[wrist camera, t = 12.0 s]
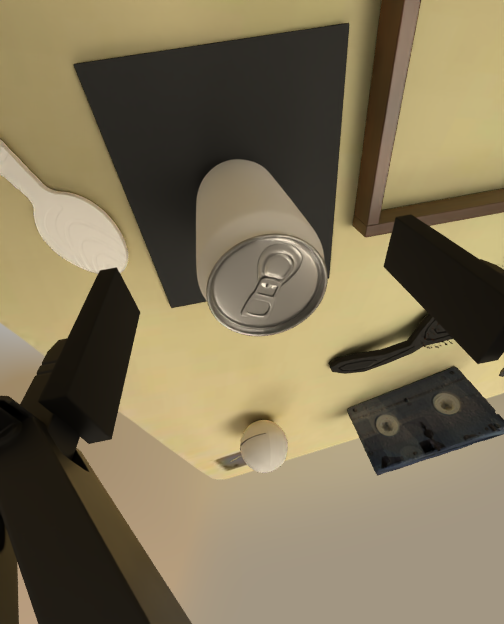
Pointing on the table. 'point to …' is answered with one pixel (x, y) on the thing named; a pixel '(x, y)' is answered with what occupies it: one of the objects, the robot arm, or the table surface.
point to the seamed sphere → (263, 446)
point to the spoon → (68, 220)
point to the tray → (382, 128)
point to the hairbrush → (393, 349)
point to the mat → (220, 132)
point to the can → (255, 252)
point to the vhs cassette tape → (424, 421)
